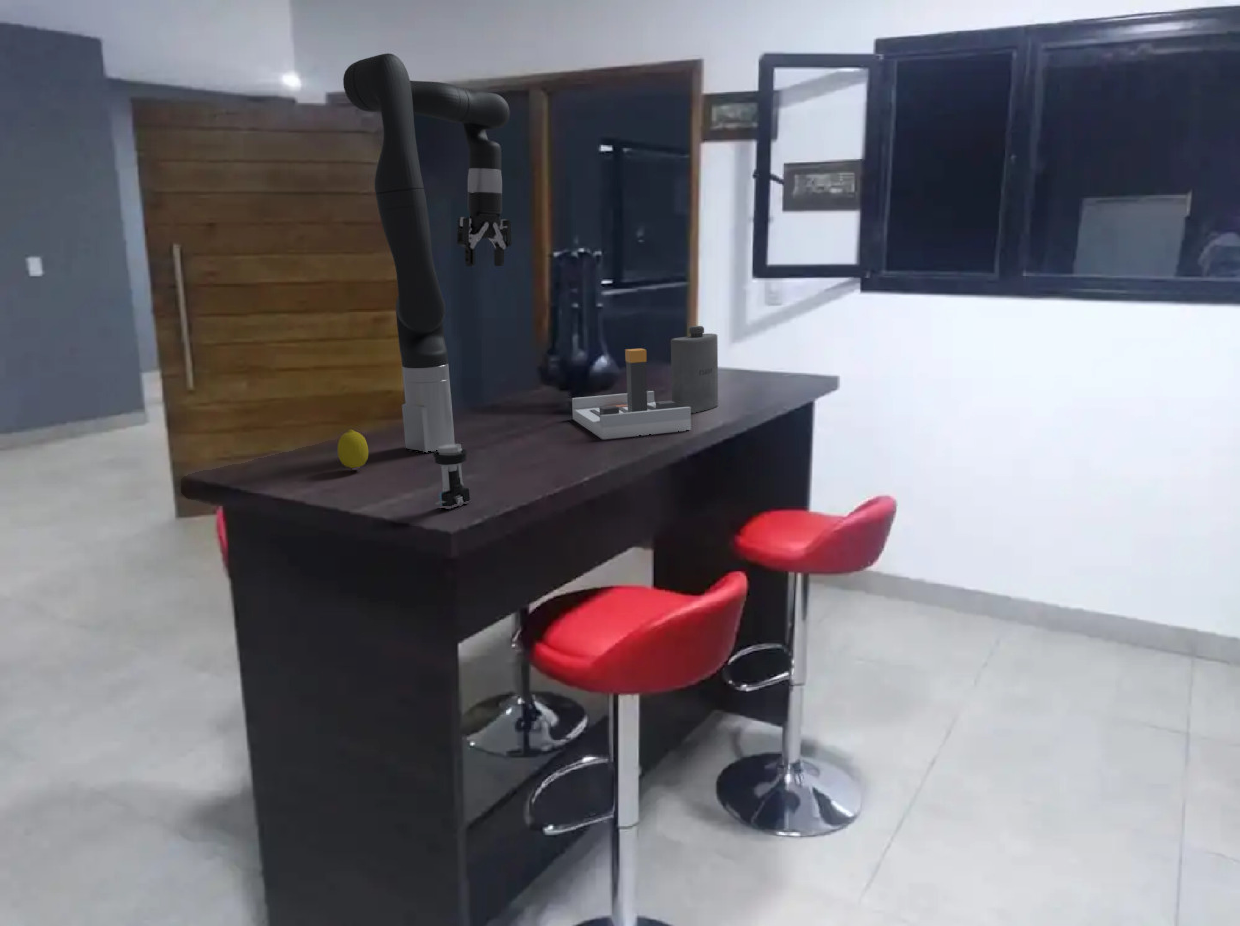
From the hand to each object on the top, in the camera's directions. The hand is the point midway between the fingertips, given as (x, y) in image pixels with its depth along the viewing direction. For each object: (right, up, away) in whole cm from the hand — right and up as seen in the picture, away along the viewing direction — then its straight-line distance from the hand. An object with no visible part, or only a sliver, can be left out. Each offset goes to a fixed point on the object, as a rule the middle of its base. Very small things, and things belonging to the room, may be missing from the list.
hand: (484, 266), depth 204 cm
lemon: (-20, -46, -33) cm, 60 cm away
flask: (+49, -32, +15) cm, 60 cm away
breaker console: (+33, -36, 0) cm, 48 cm away
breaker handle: (+34, -34, -6) cm, 49 cm away
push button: (+3, -52, -58) cm, 78 cm away
